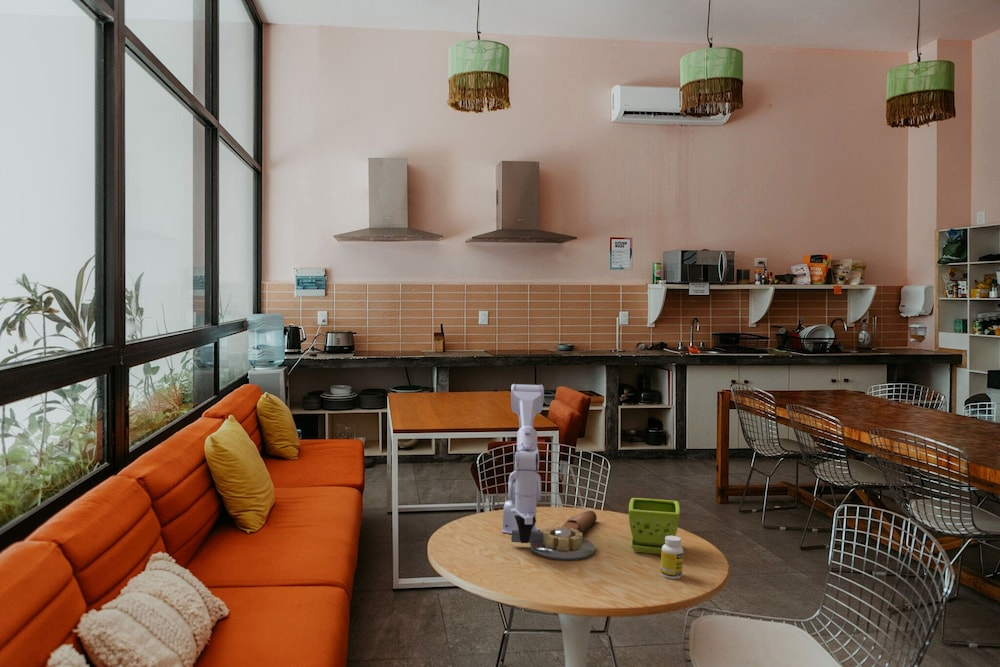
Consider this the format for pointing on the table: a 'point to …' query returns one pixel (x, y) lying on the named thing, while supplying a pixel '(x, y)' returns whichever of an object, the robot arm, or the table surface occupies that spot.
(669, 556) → the supplement bottle
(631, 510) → the flower pot
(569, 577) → the table surface
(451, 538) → the table surface
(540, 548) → the grey round disc
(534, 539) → the gear with bar handle
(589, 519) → the sunglasses case
